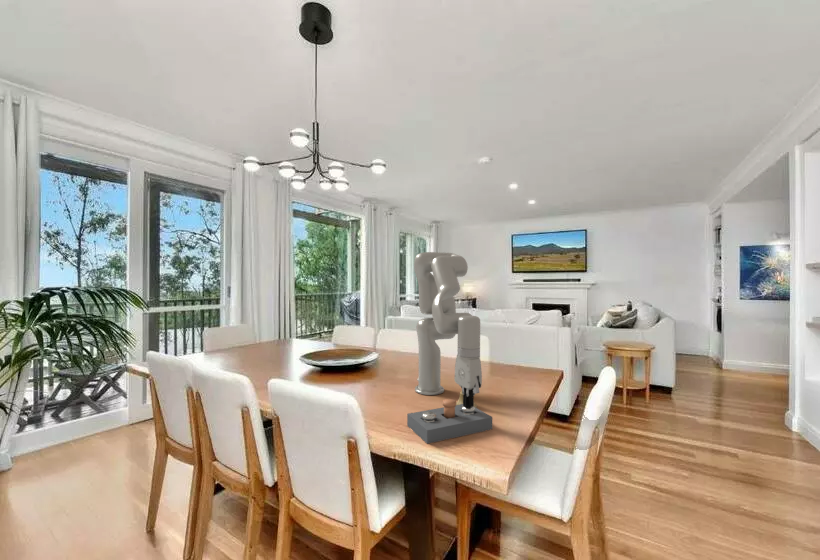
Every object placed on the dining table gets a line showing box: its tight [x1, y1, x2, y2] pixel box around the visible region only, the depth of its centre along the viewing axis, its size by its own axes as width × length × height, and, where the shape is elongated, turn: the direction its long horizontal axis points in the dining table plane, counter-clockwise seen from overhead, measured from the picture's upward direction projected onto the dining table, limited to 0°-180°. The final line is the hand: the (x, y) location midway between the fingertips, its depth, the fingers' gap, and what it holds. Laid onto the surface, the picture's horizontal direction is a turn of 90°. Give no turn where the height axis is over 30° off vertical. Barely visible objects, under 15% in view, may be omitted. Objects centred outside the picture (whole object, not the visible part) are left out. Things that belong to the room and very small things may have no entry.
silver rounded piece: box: [462, 406, 475, 415], centre depth 120 cm, size 4×4×5 cm
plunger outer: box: [422, 412, 436, 423], centre depth 114 cm, size 4×4×5 cm
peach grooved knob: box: [442, 398, 457, 419], centre depth 117 cm, size 4×4×5 cm
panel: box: [406, 404, 493, 445], centre depth 117 cm, size 14×24×4 cm, turn 115°
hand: (468, 406), depth 120 cm, fingers closed
